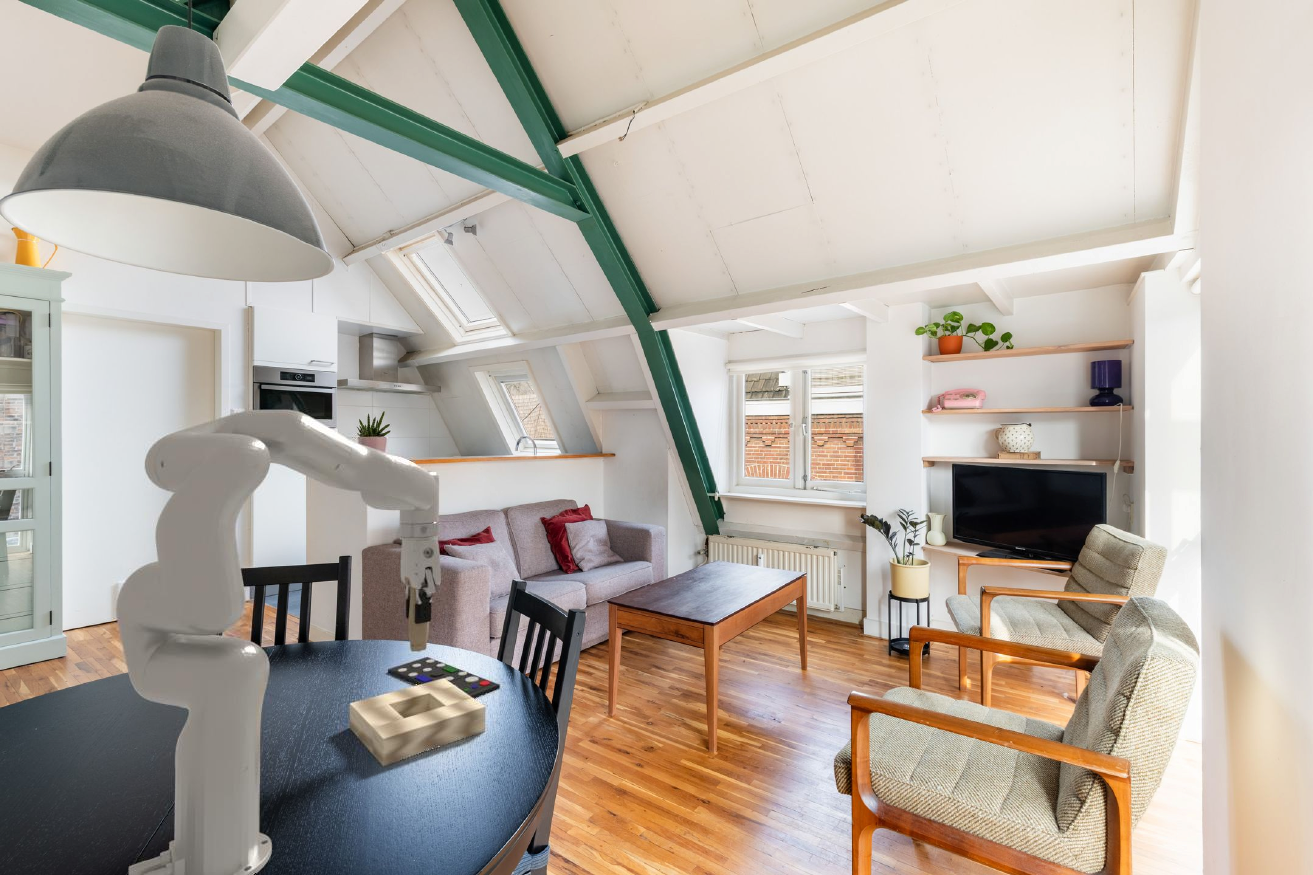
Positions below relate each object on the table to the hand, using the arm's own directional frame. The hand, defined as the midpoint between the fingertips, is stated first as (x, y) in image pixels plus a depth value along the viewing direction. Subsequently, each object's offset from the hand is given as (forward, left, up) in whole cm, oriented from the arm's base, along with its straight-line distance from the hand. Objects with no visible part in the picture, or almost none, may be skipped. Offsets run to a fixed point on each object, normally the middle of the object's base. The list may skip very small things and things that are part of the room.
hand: (418, 618), depth 124 cm
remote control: (+14, +22, -23) cm, 35 cm away
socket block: (0, 0, -23) cm, 23 cm away
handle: (0, 0, -6) cm, 6 cm away
